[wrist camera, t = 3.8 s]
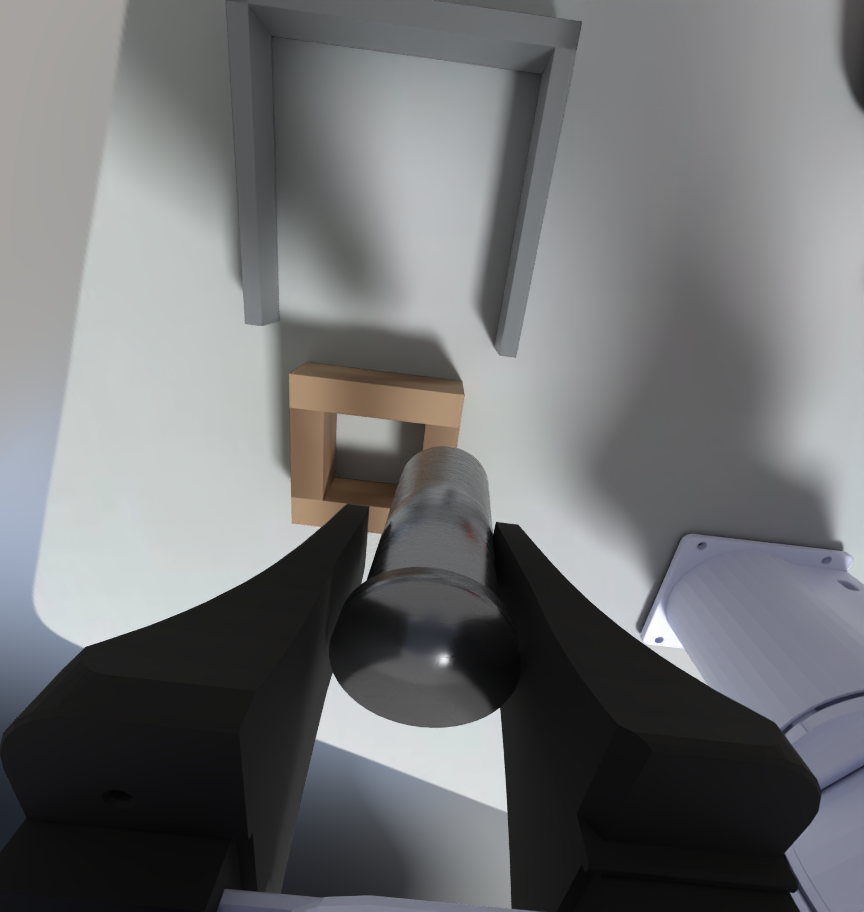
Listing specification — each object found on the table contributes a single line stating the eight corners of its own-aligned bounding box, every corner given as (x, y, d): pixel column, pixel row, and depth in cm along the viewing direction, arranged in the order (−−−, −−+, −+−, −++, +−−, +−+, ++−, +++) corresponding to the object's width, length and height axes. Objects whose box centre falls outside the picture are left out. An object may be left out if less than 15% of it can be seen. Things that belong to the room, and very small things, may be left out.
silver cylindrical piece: (508, 448, 13) (545, 611, 7) (484, 539, 15) (496, 741, 9) (398, 428, 13) (335, 572, 7) (385, 521, 15) (323, 708, 9)
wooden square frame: (462, 381, 20) (464, 395, 18) (442, 514, 23) (442, 540, 21) (306, 362, 20) (288, 373, 18) (307, 498, 23) (291, 523, 21)
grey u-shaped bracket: (565, 52, 15) (582, 21, 13) (509, 349, 19) (515, 357, 18) (250, 7, 15) (223, -30, 13) (264, 318, 19) (245, 323, 17)
